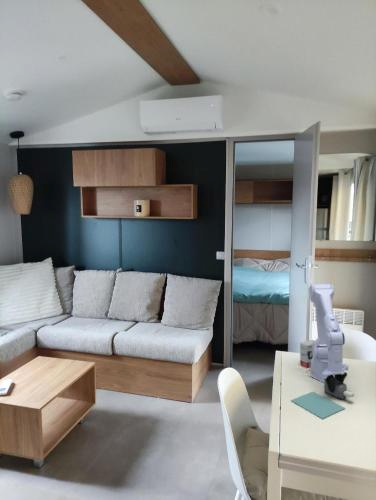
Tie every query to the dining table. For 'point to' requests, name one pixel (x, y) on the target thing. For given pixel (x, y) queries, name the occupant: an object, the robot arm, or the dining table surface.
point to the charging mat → (318, 405)
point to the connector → (339, 390)
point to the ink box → (306, 353)
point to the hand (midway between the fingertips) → (335, 390)
